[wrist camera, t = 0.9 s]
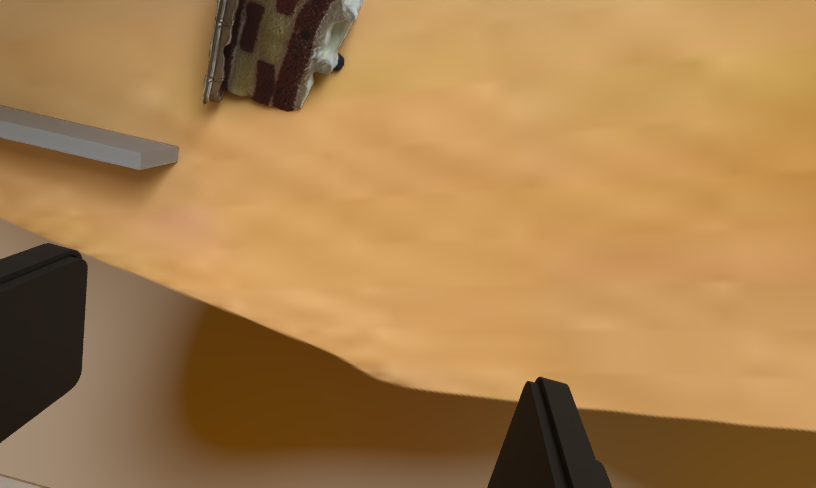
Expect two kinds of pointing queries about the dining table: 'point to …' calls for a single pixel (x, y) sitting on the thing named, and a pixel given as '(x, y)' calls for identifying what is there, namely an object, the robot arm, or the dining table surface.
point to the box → (84, 140)
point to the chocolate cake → (275, 48)
